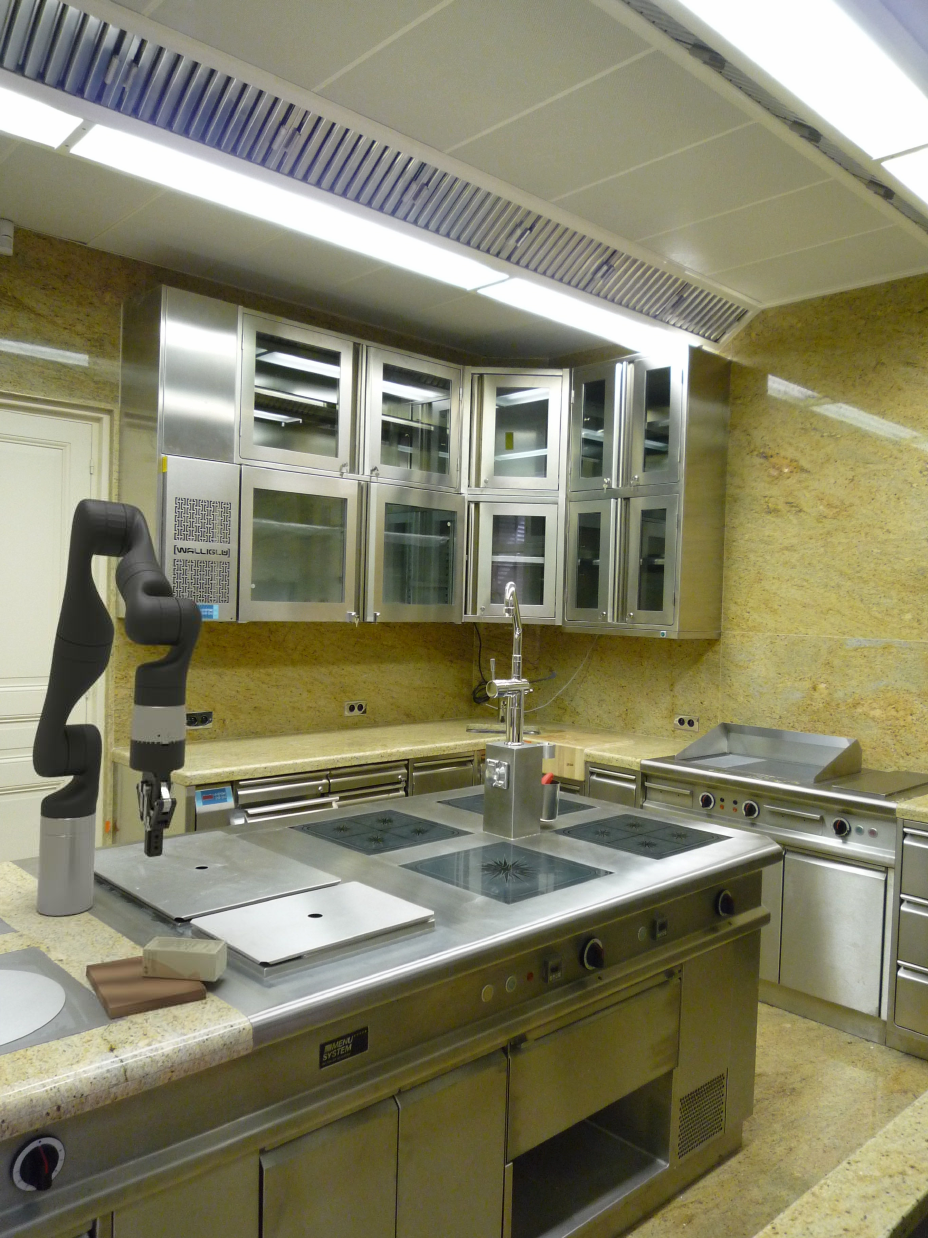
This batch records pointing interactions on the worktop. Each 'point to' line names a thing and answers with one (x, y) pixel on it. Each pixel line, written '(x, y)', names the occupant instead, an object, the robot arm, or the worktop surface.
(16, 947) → the worktop surface
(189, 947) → the box
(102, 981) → the board
